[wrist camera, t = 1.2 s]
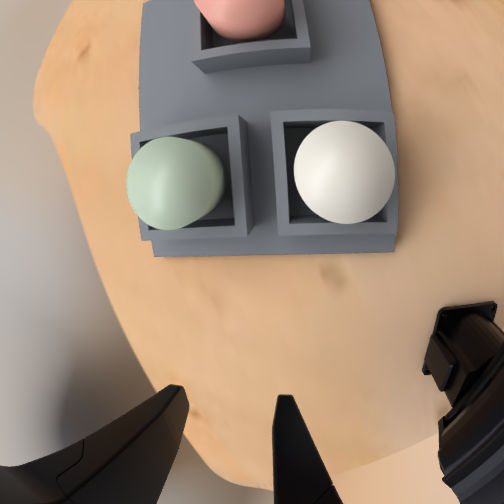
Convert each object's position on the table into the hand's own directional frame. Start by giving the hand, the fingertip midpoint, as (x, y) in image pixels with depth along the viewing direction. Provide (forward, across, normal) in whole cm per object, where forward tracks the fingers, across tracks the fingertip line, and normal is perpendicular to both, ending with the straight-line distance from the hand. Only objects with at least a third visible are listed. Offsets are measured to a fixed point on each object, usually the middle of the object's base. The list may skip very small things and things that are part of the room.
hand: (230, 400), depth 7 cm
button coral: (+9, 0, -16) cm, 18 cm away
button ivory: (+9, -4, -6) cm, 12 cm away
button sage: (+9, +4, -6) cm, 12 cm away
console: (+12, 0, -11) cm, 16 cm away
